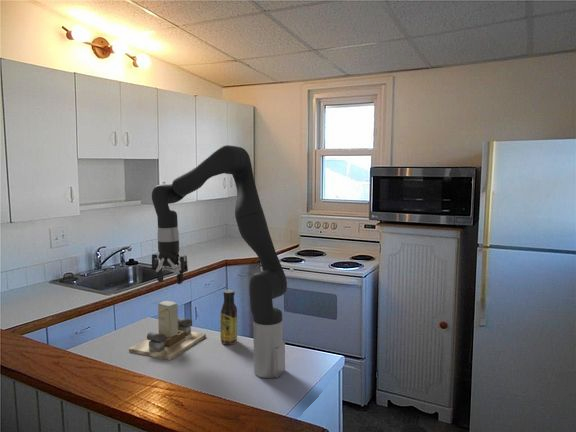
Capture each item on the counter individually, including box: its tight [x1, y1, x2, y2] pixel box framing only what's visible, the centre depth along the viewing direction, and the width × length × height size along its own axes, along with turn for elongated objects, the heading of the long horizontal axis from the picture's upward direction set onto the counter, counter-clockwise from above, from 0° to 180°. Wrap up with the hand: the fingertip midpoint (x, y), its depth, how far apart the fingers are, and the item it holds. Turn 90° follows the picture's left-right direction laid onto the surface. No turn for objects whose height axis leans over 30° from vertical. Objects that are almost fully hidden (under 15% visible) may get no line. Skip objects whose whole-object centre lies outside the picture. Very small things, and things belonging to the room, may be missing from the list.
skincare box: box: [157, 299, 179, 338], centre depth 166 cm, size 6×4×12 cm
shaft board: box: [128, 317, 207, 361], centre depth 167 cm, size 18×22×7 cm
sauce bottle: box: [219, 289, 238, 346], centre depth 168 cm, size 6×6×20 cm
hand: (170, 282), depth 166 cm, fingers open, 8 cm apart
